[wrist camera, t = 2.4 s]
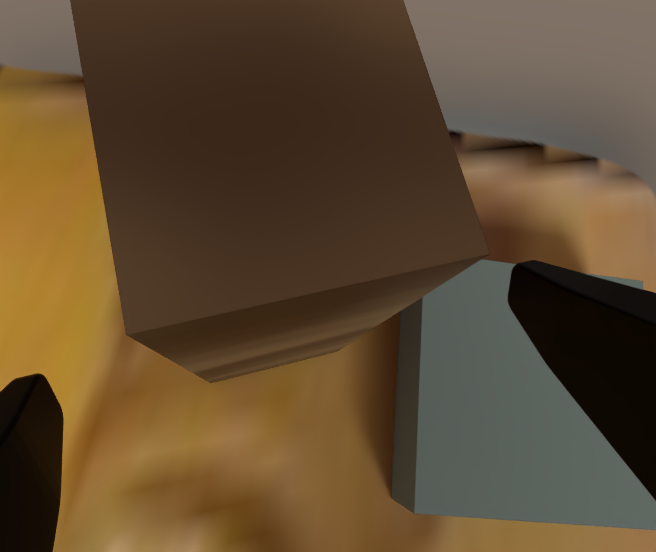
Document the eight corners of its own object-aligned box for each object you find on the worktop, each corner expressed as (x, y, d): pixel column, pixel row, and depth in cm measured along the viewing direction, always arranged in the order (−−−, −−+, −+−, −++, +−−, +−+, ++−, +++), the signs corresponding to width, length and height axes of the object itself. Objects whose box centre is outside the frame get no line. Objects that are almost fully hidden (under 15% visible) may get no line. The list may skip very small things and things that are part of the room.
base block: (604, 512, 20) (664, 530, 17) (389, 496, 19) (414, 513, 16) (592, 297, 22) (642, 281, 19) (401, 272, 21) (424, 251, 18)
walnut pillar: (337, 351, 19) (490, 253, 7) (210, 383, 18) (125, 334, 6) (307, 234, 20) (392, -31, 8) (185, 258, 19) (69, -3, 7)
